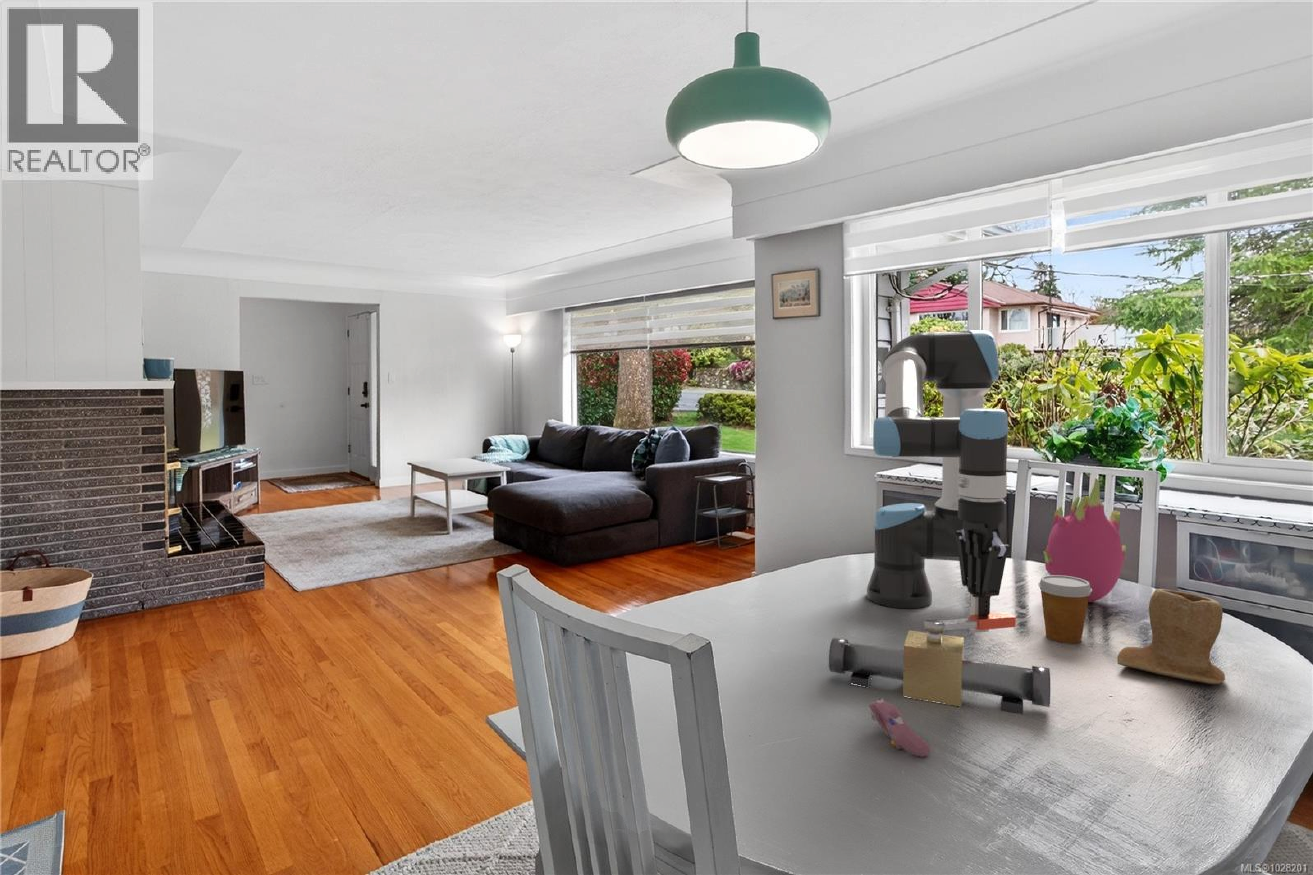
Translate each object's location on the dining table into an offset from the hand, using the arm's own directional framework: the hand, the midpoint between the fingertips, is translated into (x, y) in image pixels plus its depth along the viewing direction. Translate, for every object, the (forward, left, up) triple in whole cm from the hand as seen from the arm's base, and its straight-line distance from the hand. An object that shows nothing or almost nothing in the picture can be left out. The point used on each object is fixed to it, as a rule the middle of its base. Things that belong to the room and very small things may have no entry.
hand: (979, 630), depth 123 cm
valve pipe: (+8, -7, -9) cm, 14 cm away
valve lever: (+4, -2, +1) cm, 4 cm away
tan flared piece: (-18, +31, -10) cm, 38 cm away
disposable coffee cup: (-30, +15, -10) cm, 35 cm away
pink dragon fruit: (-59, +21, -10) cm, 64 cm away
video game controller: (+27, -10, -10) cm, 31 cm away
